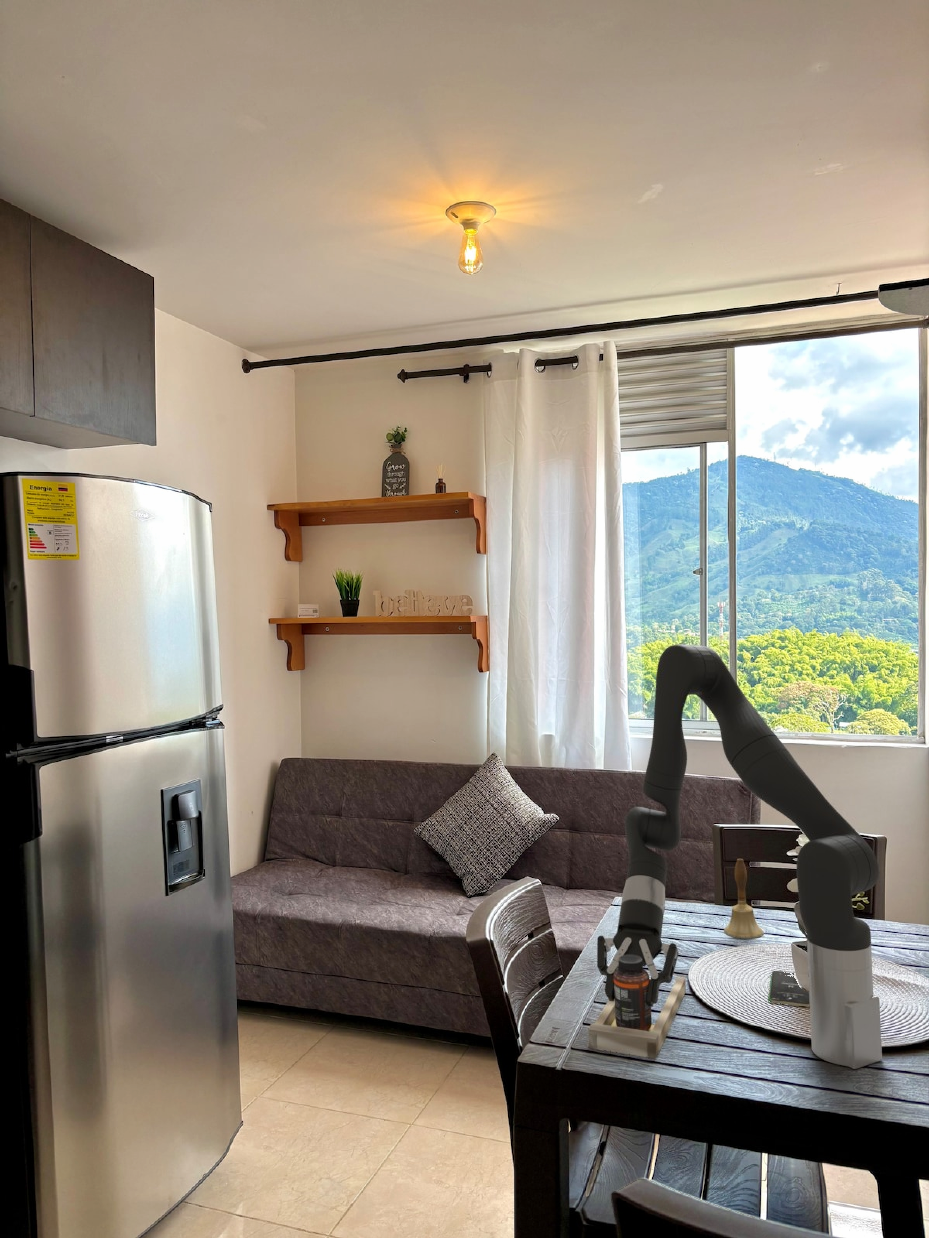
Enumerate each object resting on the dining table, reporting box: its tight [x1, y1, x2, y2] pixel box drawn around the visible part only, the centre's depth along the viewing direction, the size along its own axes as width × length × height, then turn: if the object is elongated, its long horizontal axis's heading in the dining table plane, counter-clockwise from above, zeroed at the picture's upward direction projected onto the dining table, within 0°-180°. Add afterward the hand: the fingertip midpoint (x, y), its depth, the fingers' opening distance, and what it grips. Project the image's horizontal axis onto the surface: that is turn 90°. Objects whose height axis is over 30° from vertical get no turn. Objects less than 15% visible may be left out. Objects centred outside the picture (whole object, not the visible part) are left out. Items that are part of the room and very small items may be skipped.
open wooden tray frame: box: [587, 976, 687, 1060], centre depth 150 cm, size 28×11×3 cm, turn 157°
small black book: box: [767, 970, 810, 1008], centre depth 160 cm, size 8×1×15 cm
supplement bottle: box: [614, 955, 653, 1031], centre depth 146 cm, size 6×6×11 cm
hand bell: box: [723, 858, 764, 939], centre depth 192 cm, size 8×8×16 cm
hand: (630, 1001), depth 144 cm, fingers closed on supplement bottle, 6 cm apart
